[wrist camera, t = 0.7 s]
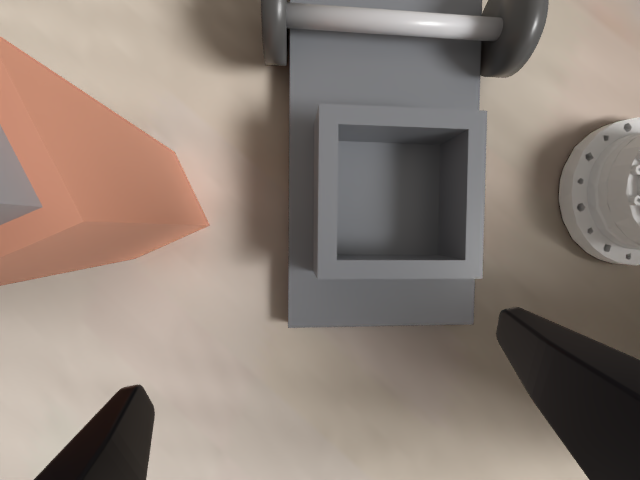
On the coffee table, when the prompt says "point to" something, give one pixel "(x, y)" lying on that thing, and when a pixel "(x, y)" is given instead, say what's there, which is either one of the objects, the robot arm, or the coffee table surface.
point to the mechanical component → (605, 193)
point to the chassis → (390, 151)
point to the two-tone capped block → (79, 179)
